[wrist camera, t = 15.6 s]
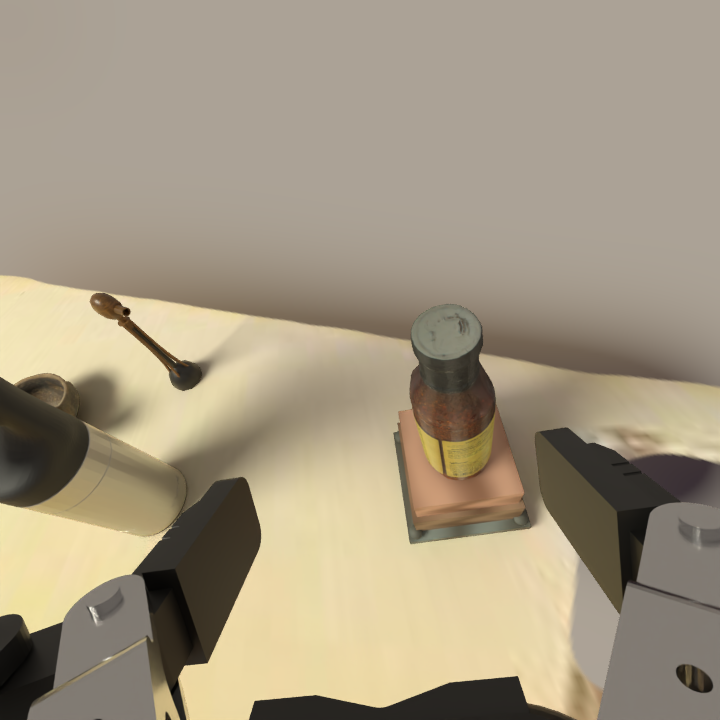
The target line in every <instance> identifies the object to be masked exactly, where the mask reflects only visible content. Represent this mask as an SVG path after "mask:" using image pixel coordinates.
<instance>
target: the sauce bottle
mask: <svg viewBox="0 0 720 720" xmlns="http://www.w3.org/2000/svg"><path fill="white" fill-rule="evenodd" d="M411 342H412V348H413V351H414V354H415V356H416V357H417V359H418V360H419V365H418V366H417V367H416V368H415V369H414V370H413V372H412V374H411V381H410V399H411V403H412V409H413V415H414V418H415V422H416V425H417V429H418V432H419V435H420V439H421V442H422V446H423V449H424V452H425V455H426V458H427V460H428V462H429V464H430V465H432V467H433V468H434V469H435V470H436V471H437V472H438V473H440V474H441V475H443V476H444V477H446V478H448V479H451V480H465V479H470V478H473V477H475V476H477V475H478V474H479V473H480V472H481V471H482V470H483V468H484V467H485V466H486V464H487V462H488V460H489V458H490V455H491V449H492V440H493V429H494V419H495V409H496V398H495V391H494V387H493V384H492V382H491V380H490V378H489V376H488V375H487V373H486V372H485V370H484V369H483V367H482V365H481V364H480V362H479V354H480V351H481V348H482V346H483V335H482V326H481V324H480V322H479V320H478V319H477V317H476V316H475V315H474V314H473V313H472V312H471V311H469V310H468V309H466V308H464V307H462V306H459V305H454V304H445V305H440V306H435V307H432V308H430V309H429V310H426V311H425V312H423V313H422V314H421V315H419V317H418V318H417V319H416V320H415V322H414V323H413V326H412V329H411Z"/></svg>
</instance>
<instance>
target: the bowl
mask: <svg viewBox="0 0 720 720" xmlns="http://www.w3.org/2000/svg"><path fill="white" fill-rule="evenodd" d="M14 386H16V387H18V388H20V389H21V390H23V391H25V392H27V393H28V394H30V395H32V396H34V397H36V398H38V399H40V400H42V401H44V402H46V403H48V404H50V405H52V406H54V407H56V408H58V409H60V410H62V411H64V412H66V413H68V414H70V415H72V416H74V417H76V416H77V413H78V409H79V402H80V399H79V395H78V392H77V391H76V389H75V387H74V386H73V385H72V384H71V383H70V382H68V381H65V380H64V379H62V378H61V377H60V376H57V375H55V374H49V373H43V374H38V375H34V376H30V377H27V378H25V379H22V380H20V381H19V382H17V383H16V384H14Z"/></svg>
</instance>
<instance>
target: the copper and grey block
mask: <svg viewBox="0 0 720 720" xmlns="http://www.w3.org/2000/svg"><path fill="white" fill-rule="evenodd" d="M398 413H399V419H400V423H398V429H399V431H398V432H395V433H394V439H395V446H396V453H397V460H398V466H399V473H400V480H401V487H402V493H403V500H404V507H405V514H406V520H407V527H408V534H409V540H410V544H416V543H423V542H431V541H438V540H446V539H454V538H461V537H469V536H477V535H484V534H492V533H499V532H507V531H515V530H522V529H529V528H530V527H531V524H530V521H529V518H528V515H527V512H526V508H525V505H524V502H523V498H522V497H523V495H524V490H523V487H522V483H521V480H520V477H519V474H518V471H517V468H516V465H515V462H514V458H513V455H512V452H511V449H510V446H509V443H508V440H507V437H506V433H505V430H504V427H503V424H502V421H501V418H500V415H499V411H498V408H497V405H496V409H495V419H494V429H493V440H492V449H491V455H490V458H489V460H488V462H487V464H486V466H485V467H484V468H483V470H482V471H481V472H480V473H479V474H478V475H477V476H475V477H473V478H470V479H465V480H451V479H448V478H446V477H444V476H443V475H441V474H440V473H438V472H437V471H436V470H435V469H434V468H433V467H432V465H430V464H429V462H428V460H427V458H426V455H425V452H424V449H423V446H422V442H421V439H420V435H419V432H418V429H417V425H416V422H415V418H414V415H413V409H411V410H405V411H399V412H398Z"/></svg>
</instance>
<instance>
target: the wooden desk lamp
mask: <svg viewBox="0 0 720 720" xmlns="http://www.w3.org/2000/svg"><path fill="white" fill-rule="evenodd" d="M90 303H91V306H92V308H93V309H94V310H95V311H96V312H97V313H98V314H100V315H102V316H104V317H105V318H108V319H114V320H116V319H117V320H118V321H119V322H118V325H119V326H123V327H124V328H125V329H126V330H127V331H129V332H130V333H131V334H132V335H133V336H134V337H136V338H137V339H138V340H139V341H140V342H141V343H142V344H143V345H145V346H146V347H147V348H148V349H149V350H150V351H151V352H152V353H153V354H154V355H155V356H156V357H157V358H158V359H159V360H160V361H161V362H162V363H163V364H164V366H165V367H166V368H167V370H168V371H169V377H170V380H171V383H172V385H173V386H174V387H175V388H177V389H179V390H182V391H185V390H188V389H192V388H193V387H194V386H195V385H196V384H197V383H198V382H199V381H200V378H201V376H202V372H201V369H200V367H199V366H198V365H196V364H195V363H192V362H189V361H186V360H184V361H180V360H178V359H177V358H176V357H174V356H173V355H171V354H170V353H169V352H167V351H166V350H165V349H164V348H162V347H161V346H160V345H159V344H157V343H156V342H155V341H154V340H153V339H152V338H150V337H149V336H148V335H147V334H146V333H145V332H144V331H143V330H141V329H140V328H139V327H138V326H137V325H136V324H135V323H134V322H133V321H131V320H130V318H129V317H128V315H130V312H131V311H130V309H129V308H127V307H123V306H122V304H121V303H120V302H119V301H118V300H116V299H115V298H114V297H112V296H110V295H108V294H105V293H96V294H94V295H92V297H91V299H90ZM123 316H125V317H123ZM169 357H170V358H169ZM172 359H173V360H174V361H176V363H175V362H174V361H173V360H172ZM167 365H168V366H169V367H170V368H171V369H170V368H169V367H168V366H167Z"/></svg>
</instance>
